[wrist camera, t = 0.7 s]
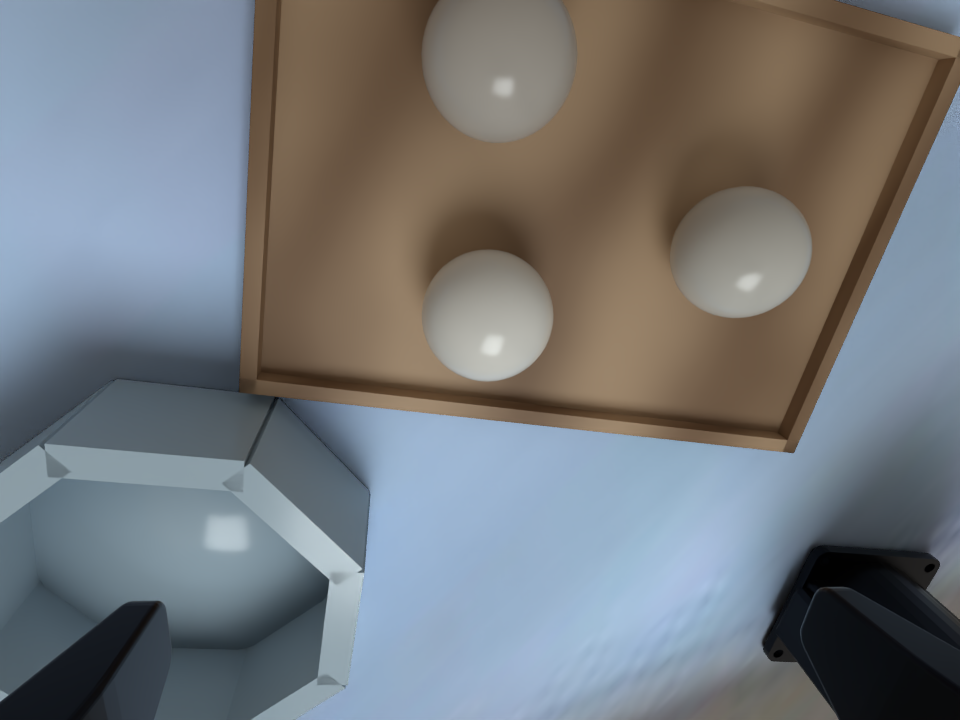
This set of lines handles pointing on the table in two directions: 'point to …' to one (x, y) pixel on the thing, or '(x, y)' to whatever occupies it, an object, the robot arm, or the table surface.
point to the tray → (578, 207)
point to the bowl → (187, 546)
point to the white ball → (487, 315)
